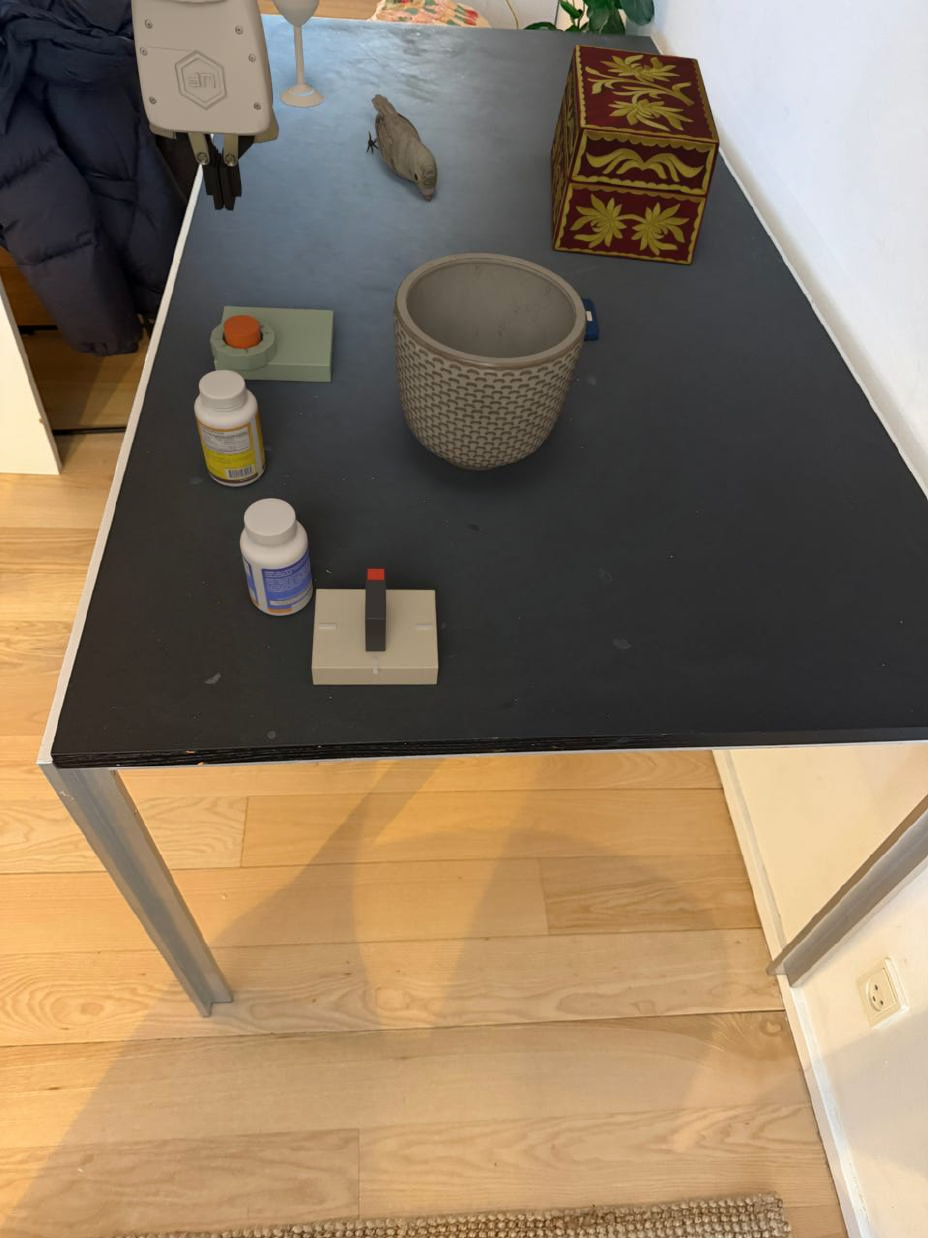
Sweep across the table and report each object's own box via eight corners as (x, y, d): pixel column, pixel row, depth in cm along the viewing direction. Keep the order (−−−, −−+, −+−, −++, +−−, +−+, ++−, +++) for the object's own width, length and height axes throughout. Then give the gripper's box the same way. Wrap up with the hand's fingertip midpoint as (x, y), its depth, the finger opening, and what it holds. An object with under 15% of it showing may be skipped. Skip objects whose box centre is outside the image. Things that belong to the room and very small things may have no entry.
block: (213, 386, 91) (207, 354, 88) (224, 322, 98) (219, 290, 94) (330, 389, 92) (328, 358, 89) (334, 326, 99) (332, 295, 96)
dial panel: (312, 691, 69) (310, 673, 67) (318, 601, 75) (316, 581, 73) (436, 691, 70) (438, 673, 68) (433, 602, 76) (434, 582, 74)
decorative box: (692, 266, 113) (729, 147, 101) (551, 250, 112) (572, 129, 101) (672, 166, 130) (703, 54, 118) (550, 152, 129) (568, 38, 117)
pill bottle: (324, 583, 76) (318, 505, 68) (292, 627, 73) (282, 550, 65) (271, 561, 77) (260, 482, 70) (237, 603, 74) (221, 525, 66)
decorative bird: (412, 206, 117) (414, 149, 111) (360, 152, 125) (359, 96, 119) (447, 198, 118) (451, 142, 113) (394, 146, 126) (394, 91, 121)
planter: (357, 424, 89) (355, 283, 76) (488, 370, 96) (505, 233, 84) (458, 527, 82) (474, 390, 69) (592, 460, 89) (628, 324, 76)
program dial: (385, 651, 69) (386, 617, 66) (365, 651, 69) (364, 616, 65) (385, 602, 72) (386, 566, 69) (366, 602, 72) (365, 566, 68)
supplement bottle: (233, 442, 86) (218, 355, 78) (278, 464, 85) (267, 379, 77) (195, 473, 83) (175, 387, 75) (240, 497, 82) (225, 412, 73)
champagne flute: (332, 99, 134) (326, -96, 115) (300, 110, 131) (287, -88, 112) (303, 83, 136) (291, -110, 117) (270, 95, 133) (253, -102, 114)
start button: (223, 349, 89) (221, 334, 88) (227, 328, 91) (225, 313, 90) (259, 350, 89) (257, 336, 88) (262, 329, 92) (260, 315, 90)
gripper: (75, -29, 61) (134, 220, 76) (289, -14, 63) (306, 228, 77) (96, -64, 66) (148, 178, 81) (295, -49, 67) (310, 185, 82)
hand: (226, 202), depth 79 cm, fingers closed
